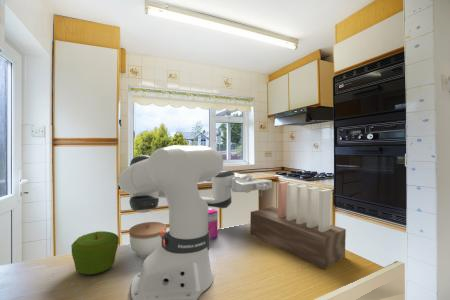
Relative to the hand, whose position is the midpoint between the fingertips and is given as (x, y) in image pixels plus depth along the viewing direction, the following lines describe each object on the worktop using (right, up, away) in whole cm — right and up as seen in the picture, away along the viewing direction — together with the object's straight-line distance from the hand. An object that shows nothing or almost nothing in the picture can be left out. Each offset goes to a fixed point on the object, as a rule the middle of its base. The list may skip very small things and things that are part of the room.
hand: (266, 187), depth 100 cm
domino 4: (+14, -11, -18) cm, 25 cm away
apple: (-59, -20, -30) cm, 69 cm away
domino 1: (+6, -10, -7) cm, 14 cm away
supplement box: (-26, -20, -5) cm, 33 cm away
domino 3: (+11, -11, -15) cm, 21 cm away
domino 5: (+16, -11, -22) cm, 30 cm away
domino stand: (+8, -21, -11) cm, 25 cm away
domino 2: (+8, -11, -11) cm, 17 cm away
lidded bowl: (-46, -20, -20) cm, 54 cm away
